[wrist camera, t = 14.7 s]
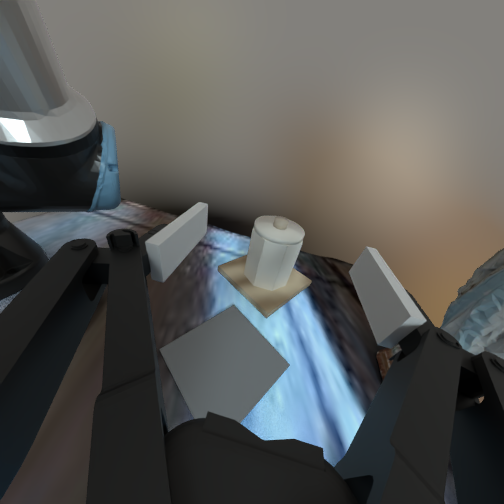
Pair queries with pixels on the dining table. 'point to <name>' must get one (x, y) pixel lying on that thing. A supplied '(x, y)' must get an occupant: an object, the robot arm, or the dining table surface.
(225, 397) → the mat
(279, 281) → the white lidded jar
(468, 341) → the statue
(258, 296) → the board
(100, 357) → the dining table surface
